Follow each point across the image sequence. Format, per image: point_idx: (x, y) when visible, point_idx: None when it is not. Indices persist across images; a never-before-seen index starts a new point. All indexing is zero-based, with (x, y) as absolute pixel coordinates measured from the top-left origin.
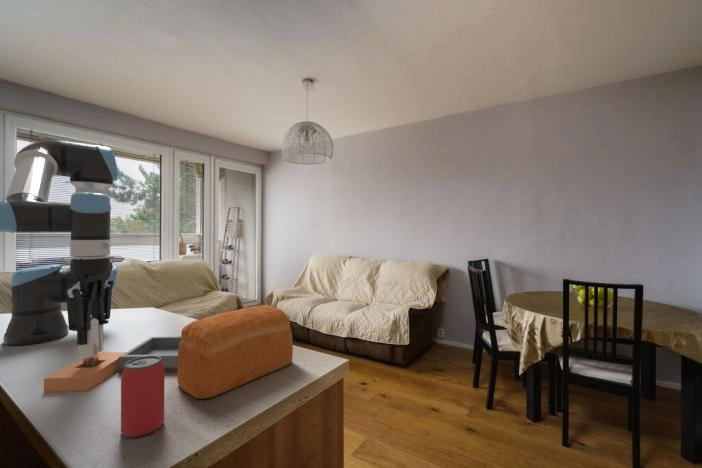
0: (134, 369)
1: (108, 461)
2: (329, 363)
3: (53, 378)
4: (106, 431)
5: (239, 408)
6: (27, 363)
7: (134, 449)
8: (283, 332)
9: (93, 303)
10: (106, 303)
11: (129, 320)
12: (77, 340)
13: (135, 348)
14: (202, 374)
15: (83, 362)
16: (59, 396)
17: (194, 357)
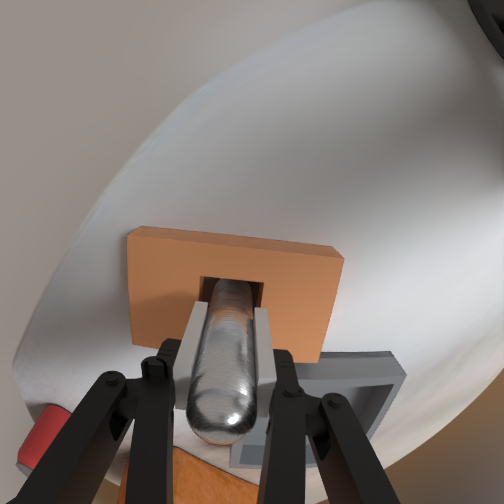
0: (19, 467)
1: (23, 398)
2: None
3: (127, 261)
4: (50, 389)
5: (119, 477)
6: (369, 46)
7: (39, 413)
8: None
9: (261, 501)
10: (330, 494)
11: None
12: (159, 350)
13: (309, 387)
14: (119, 488)
15: (211, 300)
16: (120, 278)
17: (123, 501)
